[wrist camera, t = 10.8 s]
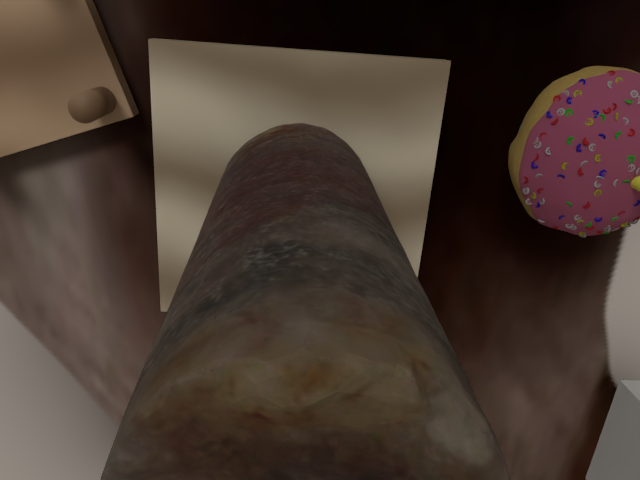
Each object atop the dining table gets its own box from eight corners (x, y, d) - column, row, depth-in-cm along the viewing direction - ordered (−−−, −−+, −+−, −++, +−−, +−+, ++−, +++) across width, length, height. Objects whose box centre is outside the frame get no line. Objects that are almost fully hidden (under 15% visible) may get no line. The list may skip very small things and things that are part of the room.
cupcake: (655, 125, 31) (862, 181, 20) (549, 233, 33) (682, 338, 22) (558, 27, 29) (731, 29, 18) (451, 151, 31) (545, 222, 20)
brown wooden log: (264, 284, 29) (233, 747, 10) (188, 168, 26) (-39, 503, 8) (390, 218, 28) (612, 593, 9) (325, 91, 25) (450, 256, 7)
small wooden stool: (166, 37, 28) (148, 38, 24) (429, 56, 29) (451, 61, 25) (174, 279, 33) (160, 311, 29) (397, 287, 34) (411, 318, 30)
